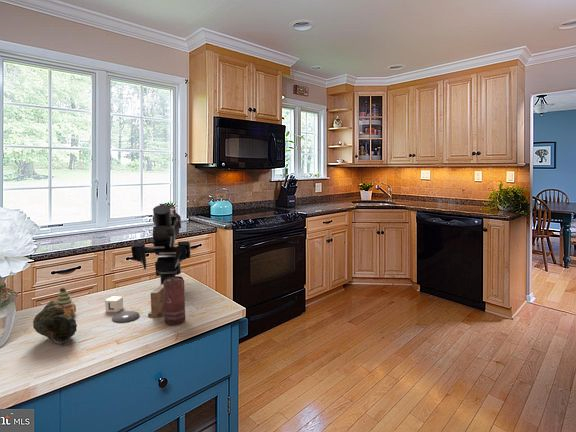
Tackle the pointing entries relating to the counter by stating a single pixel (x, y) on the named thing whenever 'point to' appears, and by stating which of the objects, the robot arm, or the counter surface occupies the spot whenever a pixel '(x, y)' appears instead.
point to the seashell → (55, 323)
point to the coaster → (125, 316)
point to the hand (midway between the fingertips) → (159, 267)
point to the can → (174, 300)
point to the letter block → (114, 304)
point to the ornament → (65, 302)
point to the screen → (157, 302)
